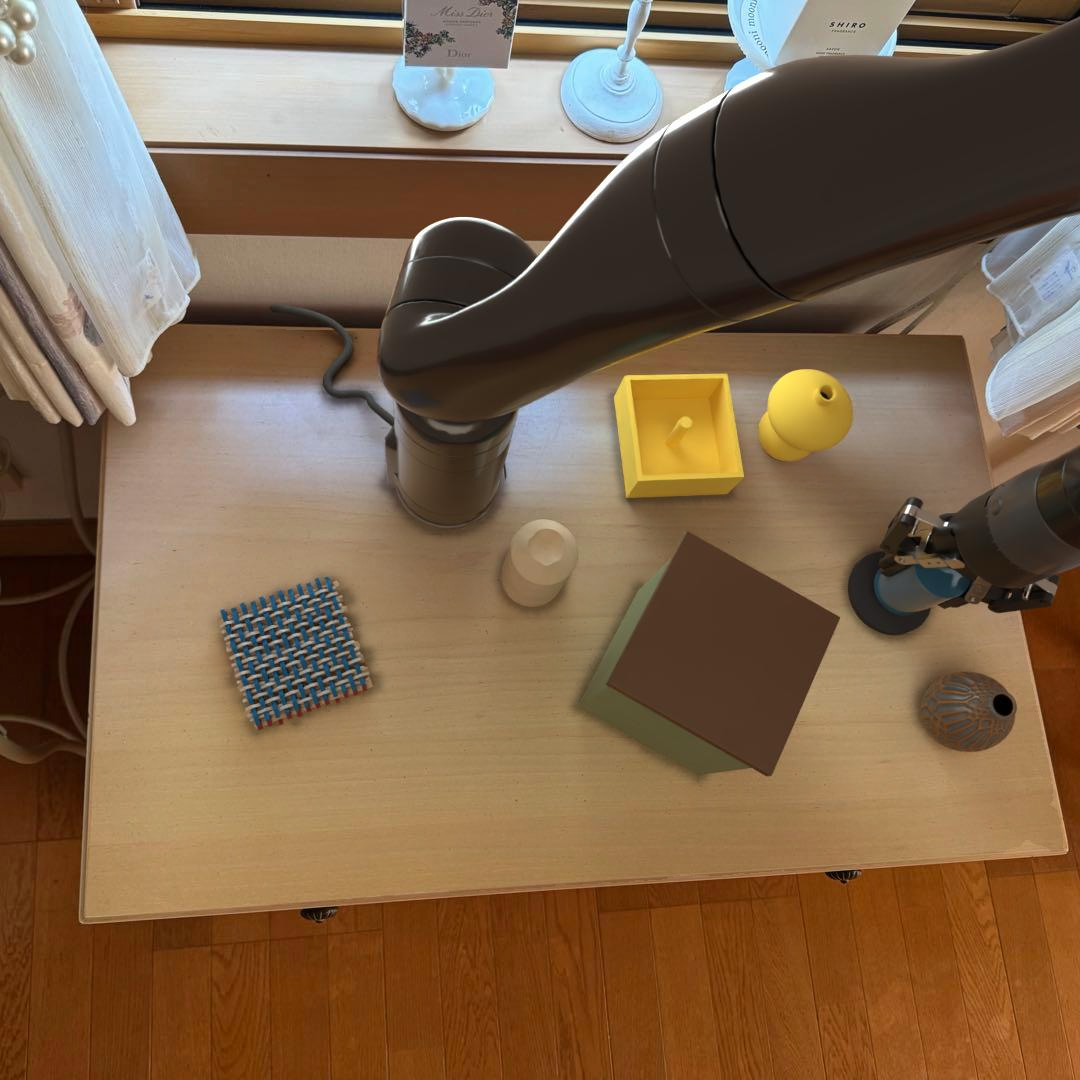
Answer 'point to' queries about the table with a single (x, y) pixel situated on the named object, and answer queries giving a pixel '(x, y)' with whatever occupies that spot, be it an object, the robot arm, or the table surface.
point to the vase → (968, 711)
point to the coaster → (877, 601)
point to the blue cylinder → (918, 588)
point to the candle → (538, 562)
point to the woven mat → (293, 653)
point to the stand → (711, 662)
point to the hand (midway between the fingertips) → (914, 581)
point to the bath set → (718, 429)
